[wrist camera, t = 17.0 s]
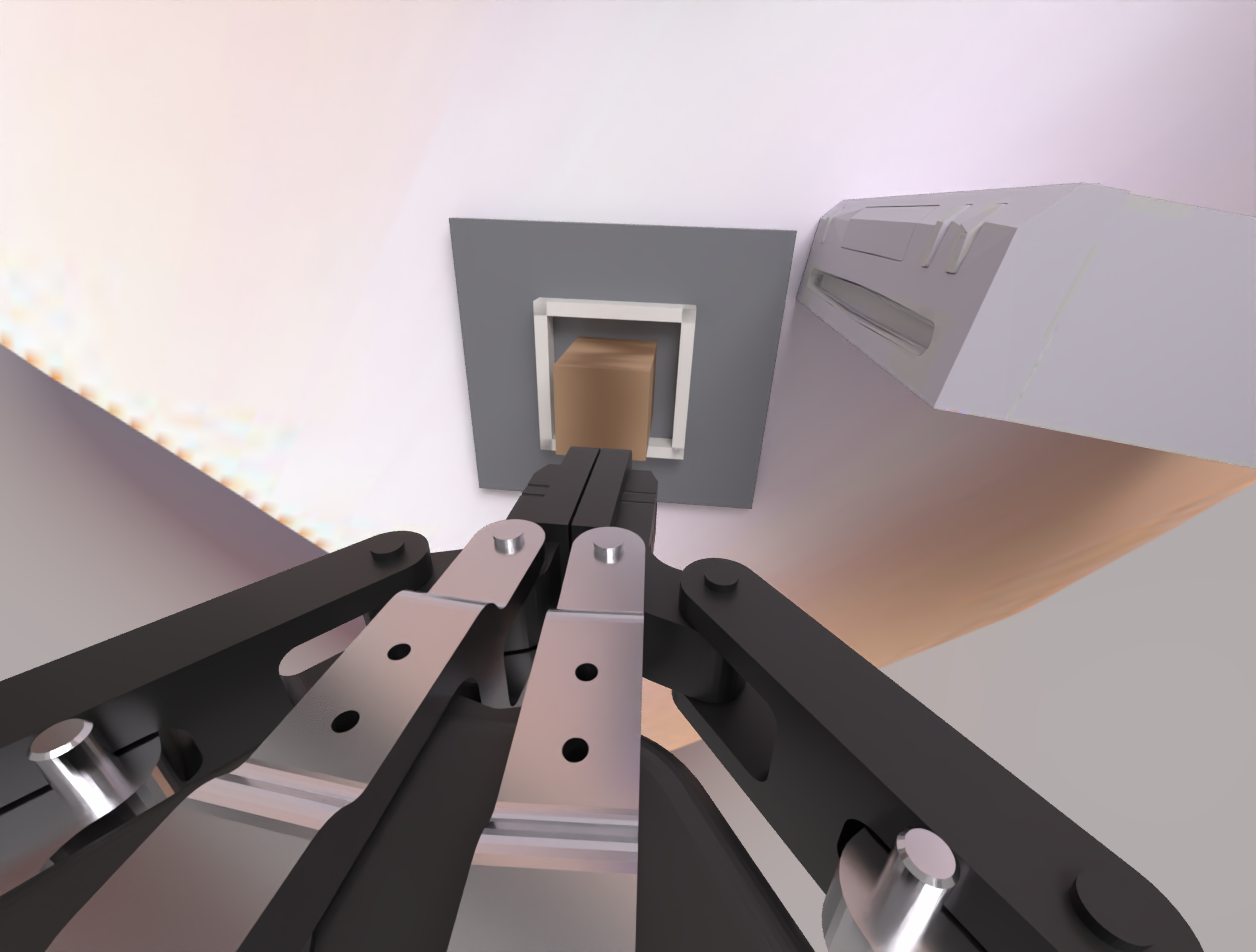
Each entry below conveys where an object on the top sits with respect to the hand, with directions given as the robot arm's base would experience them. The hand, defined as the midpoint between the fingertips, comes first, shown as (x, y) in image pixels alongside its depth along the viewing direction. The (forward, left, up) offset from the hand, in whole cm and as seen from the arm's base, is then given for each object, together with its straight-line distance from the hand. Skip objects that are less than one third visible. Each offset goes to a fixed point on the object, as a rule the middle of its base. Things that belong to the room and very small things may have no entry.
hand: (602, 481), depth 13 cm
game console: (-22, -3, -23) cm, 32 cm away
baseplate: (+2, +4, -23) cm, 23 cm away
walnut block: (+2, +4, -21) cm, 22 cm away
